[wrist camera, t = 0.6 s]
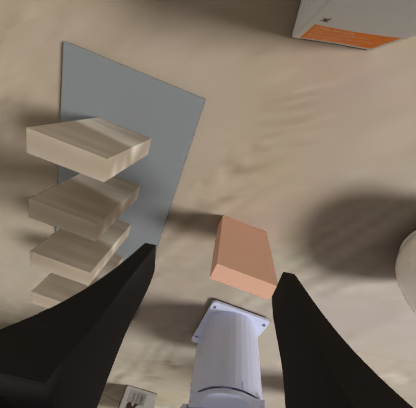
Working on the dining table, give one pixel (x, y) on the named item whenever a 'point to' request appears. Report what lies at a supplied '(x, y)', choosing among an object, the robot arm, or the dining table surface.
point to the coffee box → (137, 398)
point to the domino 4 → (66, 285)
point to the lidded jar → (407, 269)
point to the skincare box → (356, 22)
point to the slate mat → (138, 122)
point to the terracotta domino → (243, 258)
